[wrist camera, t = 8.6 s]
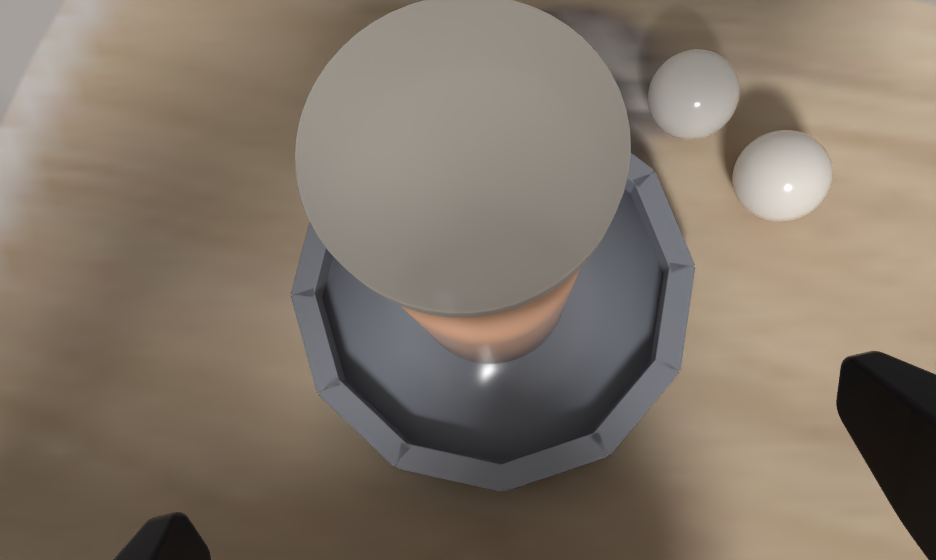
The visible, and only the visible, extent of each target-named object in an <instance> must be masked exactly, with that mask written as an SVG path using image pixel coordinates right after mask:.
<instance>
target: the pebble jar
mask: <svg viewBox="0 0 936 560" xmlns="http://www.w3.org/2000/svg"><path fill="white" fill-rule="evenodd" d="M630 155H631V139H630V126H629V121H628V116H627V111H626V107H625V104H624V101H623V98H622V95H621V92H620V90H619V87H618V86H617V84H616V82H615V80H614V78H613V76H612V74H611V72H610V70H609V69H608V67H607V66H606V64H605V63H604V62H603V60H602V59H601V57H600V56H599V54H598V53H597V52H596V51H595V50H594V49H593V48H592V47H591V46H590V45H589V44H588V42H587V41H586V40H585V39H584V38H582V37H581V36H580V35H579V34H578V33H576V32H575V31H574V30H573V29H572V28H570V27H569V26H568V25H566V24H565V23H563V22H561V21H560V20H558V19H557V18H555V17H554V16H552V15H550V14H548V13H546V12H544V11H541V10H539V9H537V8H535V7H533V6H530V5H527V4H524V3H521V2H518V1H515V0H423V1H420V2H416V3H413V4H410V5H407V6H405V7H402V8H400V9H397V10H395V11H392V12H390V13H388V14H387V15H385V16H383V17H381V18H379V19H377V20H376V21H374V22H372V23H371V24H369V25H368V26H367V27H365V28H364V29H362V30H361V31H360V32H358V33H357V34H356V35H354V36H353V37H352V38H351V39H350V40H349V41H348V42H347V43H346V44H345V45H343V46H342V47H341V48H340V49H339V51H338V52H337V53H336V54H335V55H334V56H333V57H332V59H331V60H330V61H329V62H328V63H327V65H326V66H325V68H324V69H323V71H322V72H321V74H320V75H319V77H318V78H317V80H316V81H315V83H314V85H313V87H312V89H311V91H310V93H309V95H308V97H307V100H306V103H305V106H304V108H303V111H302V114H301V117H300V121H299V126H298V131H297V136H296V148H295V168H296V179H297V184H298V189H299V194H300V198H301V201H302V204H303V206H304V209H305V212H306V215H307V217H308V219H309V221H310V223H311V225H312V227H313V229H314V230H315V232H316V234H317V236H318V237H319V239H320V240H321V241H322V243H323V244H324V246H325V247H326V248H327V250H328V251H329V252H330V253H331V255H332V256H333V257H334V258H335V259H336V260H337V261H338V262H339V263H340V264H341V265H342V266H343V267H344V268H345V269H346V270H347V271H349V272H350V273H351V274H352V275H353V276H354V277H355V278H356V279H358V280H359V281H360V282H362V283H363V284H364V285H365V286H367V287H368V288H369V289H371V290H372V291H373V292H375V293H377V294H378V295H380V296H382V297H384V298H385V299H387V300H389V301H391V302H393V303H395V304H398V305H400V306H401V307H402V308H403V309H404V310H405V311H406V312H407V313H408V314H409V315H410V316H411V317H413V318H414V319H415V320H416V321H417V322H418V323H419V324H420V325H421V326H422V327H423V328H424V329H425V330H426V331H427V332H428V333H429V334H430V335H431V336H432V337H433V338H434V339H435V340H436V341H437V342H438V343H439V344H440V345H441V346H442V347H444V348H445V349H446V350H448V351H449V352H451V353H453V354H454V355H456V356H458V357H460V358H463V359H465V360H469V361H472V362H477V363H484V364H497V363H504V362H509V361H512V360H516V359H518V358H521V357H523V356H525V355H527V354H529V353H530V352H532V351H534V350H535V349H536V348H538V347H539V346H540V345H542V344H543V343H544V342H545V340H546V339H547V338H548V337H549V336H550V335H551V333H552V332H553V331H554V330H555V328H556V326H557V324H558V322H559V321H560V318H561V316H562V313H563V311H564V308H565V305H566V303H567V300H568V298H569V295H570V293H571V290H572V288H573V285H574V283H575V280H576V278H577V275H578V273H579V270H580V268H581V266H582V265H583V264H584V263H585V262H586V261H587V260H588V259H589V257H590V256H591V255H592V254H593V252H594V251H595V250H596V248H597V247H598V246H599V244H600V242H601V241H602V239H603V237H604V235H605V233H606V232H607V230H608V228H609V226H610V224H611V222H612V220H613V218H614V215H615V213H616V211H617V208H618V206H619V203H620V201H621V198H622V196H623V193H624V190H625V186H626V181H627V177H628V173H629V166H630Z"/></svg>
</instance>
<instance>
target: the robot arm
mask: <svg viewBox="0 0 936 560" xmlns="http://www.w3.org/2000/svg"><path fill="white" fill-rule="evenodd" d="M836 404H837V410H838V414H839V416H840V419H841V420H842V422H843V424H844V426H845V427H846V429H847V431H848V433H849V434H850V436H851V438H852V439H853V441H854V443H855V445H856V446H857V448H858V450H859V451H860V453H861V455H862V456H863V458H864V460H865V462H866V463H867V465H868V467H869V468H870V470H871V472H872V474H873V475H874V477H875V479H876V480H877V482H878V484H879V486H880V487H881V489H882V491H883V492H884V494H885V496H886V497H887V499H888V501H889V503H890V504H891V506H892V507H893V509H894V511H895V512H896V514H897V516H898V517H899V519H900V520H901V522H902V523H903V525H904V526H905V528H906V529H907V530H908V532H909V533H910V535H911V536H912V538H913V539H914V540H915V542H916V543H917V544H918V546H919V547H920V549H921V550H922V551H923V553H924V554H925V555H926V557H927V558H928V559H929V560H936V374H933V373H931V372H928V371H926V370H924V369H921V368H919V367H916V366H914V365H912V364H909V363H907V362H904V361H902V360H899V359H897V358H895V357H892V356H890V355H887V354H885V353H882V352H879V351H870V352H865V353H861V354H857V355H852V356H848V357H846V358H845V359H844V360H843V362H842V364H841V369H840V377H839V385H838V392H837V400H836ZM114 560H211V556H210V552H209V549H208V547H207V545H206V544H205V542H204V541H203V539H202V538H201V536H200V535H199V533H198V532H197V530H196V529H195V527H194V526H193V524H192V523H191V521H190V520H189V518H188V517H187V516H186V515H185V514H183V513H181V512H175V513H170V514H166V515H162V516H158V517H154V518H152V519H150V520H149V521H148V522H146V523H145V524H144V526H143V527H142V528H141V529H140V530H139V531H138V532H137V534H136V535H135V536H134V537H133V538H132V539H131V540H130V542H129V543H128V544H127V545H126V546H125V547H124V548H123V550H122V551H121V552H120V553H119V554H118V555H117V556H116V558H115V559H114Z"/></svg>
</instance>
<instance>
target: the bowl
mask: <svg viewBox="0 0 936 560" xmlns="http://www.w3.org/2000/svg"><path fill="white" fill-rule="evenodd" d="M653 171H654V170H653V169H652V168H651V167H649V166H648V165H647V164H645V163H644V162H643V161H641V160H640V159H639V158H637V157H636V156H635V155H633V154H632V153H631V155H630V166H629V173H628V177H627V181H626V186H625V190H624V193H623V196H622V198H621V201H620V203H619V206H618V208H617V211H616V213H615V215H614V218H613V220H612V222H611V224H610V226H609V228H608V230H607V232H606V233H605V235H604V237H603V239H602V241H601V242H600V244H599V246H598V247H597V248H596V250H595V251H594V252H593V254H592V255H591V256H590V257H589V259H588V260H587V261H586V262H585V263H584V264H583V265H582V266H581V268H580V270H579V273H578V275H577V278H576V280H575V283H574V285H573V288H572V290H571V293H570V295H569V298H568V300H567V303H566V305H565V308H564V311H563V313H562V316H561V318H560V321H559V322H558V324H557V326H556V328H555V330H554V331H553V332H552V333H551V335H550V336H549V337H548V338H547V339H546V340H545V342H544V343H543V344H542V345H540V346H539V347H538V348H536V349H535V350H534V351H532V352H530V353H529V354H527V355H525V356H523V357H521V358H518V359H516V360H512V361H509V362H504V363H497V364H484V363H477V362H472V361H469V360H465V359H463V358H460V357H458V356H456V355H454V354H453V353H451V352H449V351H448V350H446V349H445V348H444V347H442V346H441V345H440V344H439V343H438V342H437V341H436V340H435V339H434V338H433V337H432V336H431V335H430V334H429V333H428V332H427V331H426V330H425V329H424V328H423V327H422V326H421V325H420V324H419V323H418V322H417V321H416V320H415V319H414V318H413V317H411V316H410V315H409V314H408V313H407V312H406V311H405V310H404V309H403V308H402V307H401V306H400V305H398V304H395V303H393V302H391V301H389V300H387V299H385V298H384V297H382V296H380V295H378V294H377V293H375V292H373V291H372V290H371V289H369V288H368V287H367V286H365V285H364V284H363V283H362V282H360V281H359V280H358V279H356V278H355V277H354V276H353V275H352V274H351V273H350V272H349V271H347V270H346V269H345V268H344V267H343V266H342V265H341V264H340V263H339V262H338V261H337V260H336V259H335V258H334V257H333V256H332V255H331V253H330V252H329V251H328V250H327V248H326V247H325V246H324V244H323V243H322V241H321V240H320V239H319V237H318V236H317V234H316V232H315V230H314V229H313V227H312V225H311V223H309V226H308V230H307V234H306V238H305V242H304V245H303V249H302V253H301V257H300V261H299V264H298V268H297V272H296V276H295V279H294V283H293V287H292V291H291V294H293V295H292V296H291V298H292V302H293V306H294V309H295V313H296V317H297V320H298V324H299V328H300V331H301V335H302V339H303V342H304V346H305V350H306V353H307V357H308V361H309V365H310V368H311V372H312V376H313V379H314V383H315V387H316V390H317V393H319V394H318V395H319V396H320V397H321V398H322V399H323V400H324V401H325V402H327V403H328V404H329V405H330V406H331V407H332V408H333V409H334V410H335V411H336V412H337V413H338V414H339V415H340V416H341V417H342V418H343V419H344V420H345V421H346V422H347V423H348V424H349V425H350V426H351V427H352V428H354V429H355V430H356V431H357V432H358V433H359V434H360V435H361V436H362V437H363V438H364V439H365V440H366V441H367V442H368V443H369V444H370V445H371V446H372V447H373V448H374V449H375V450H376V451H377V452H378V453H380V454H381V455H382V456H383V457H384V458H385V459H386V460H387V461H388V462H389V463H390V464H391V465H392V466H393V467H395V466H396V468H397V469H401V470H406V471H410V472H415V473H419V474H424V475H428V476H432V477H437V478H441V479H446V480H450V481H455V482H459V483H464V484H468V485H472V486H477V487H481V488H486V489H490V490H495V491H499V492H502V488H503V490H504V492H505V491H508V490H511V489H514V488H517V487H520V486H523V485H526V484H529V483H532V482H535V481H538V480H541V479H544V478H547V477H550V476H553V475H556V474H559V473H562V472H565V471H567V470H570V469H573V468H576V467H579V466H582V465H585V464H588V463H591V462H594V461H597V460H600V459H603V458H606V457H608V455H611V454H612V453H613V451H614V450H615V449H616V448H617V447H618V445H619V444H620V443H621V442H622V441H623V439H624V438H625V437H626V436H627V435H628V433H629V432H630V431H631V430H632V429H633V427H634V426H635V425H636V424H637V423H638V421H639V420H640V419H641V418H642V417H643V415H644V414H645V413H646V412H647V411H648V409H649V408H650V407H651V406H652V405H653V403H654V402H655V401H656V400H657V399H658V397H659V396H660V395H661V394H662V393H663V391H664V390H665V389H666V388H667V387H668V385H669V384H670V383H671V382H672V381H673V379H674V378H675V377H676V376H677V375H678V373H679V372H678V371H679V370H680V369H681V362H682V355H683V348H684V341H685V334H686V327H687V320H688V313H689V306H690V299H691V292H692V285H693V278H694V271H695V267H693V266H694V265H695V264H694V262H693V259H692V257H691V255H690V252H689V250H688V247H687V245H686V243H685V240H684V238H683V236H682V233H681V231H680V229H679V226H678V224H677V221H676V219H675V217H674V214H673V212H672V210H671V207H670V205H669V203H668V200H667V198H666V195H665V193H664V191H663V188H662V186H661V184H660V181H659V179H658V177H657V174H656V172H654V173H653ZM607 454H608V455H607Z"/></svg>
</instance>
